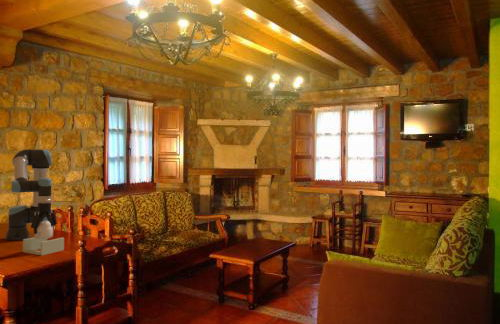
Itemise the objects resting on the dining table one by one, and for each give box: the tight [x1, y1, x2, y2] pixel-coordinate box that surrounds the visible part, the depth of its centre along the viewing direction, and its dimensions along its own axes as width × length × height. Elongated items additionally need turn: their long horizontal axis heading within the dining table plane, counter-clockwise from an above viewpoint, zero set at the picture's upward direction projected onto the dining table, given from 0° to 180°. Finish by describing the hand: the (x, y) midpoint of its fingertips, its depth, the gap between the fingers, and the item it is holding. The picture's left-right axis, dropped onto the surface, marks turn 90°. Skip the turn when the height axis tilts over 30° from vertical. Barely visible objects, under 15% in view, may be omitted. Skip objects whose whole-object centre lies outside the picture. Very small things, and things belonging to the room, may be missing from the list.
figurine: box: [38, 220, 54, 240], centre depth 261 cm, size 10×10×12 cm
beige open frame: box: [22, 236, 65, 256], centre depth 260 cm, size 17×16×8 cm
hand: (44, 237), depth 260 cm, fingers closed on figurine, 10 cm apart
